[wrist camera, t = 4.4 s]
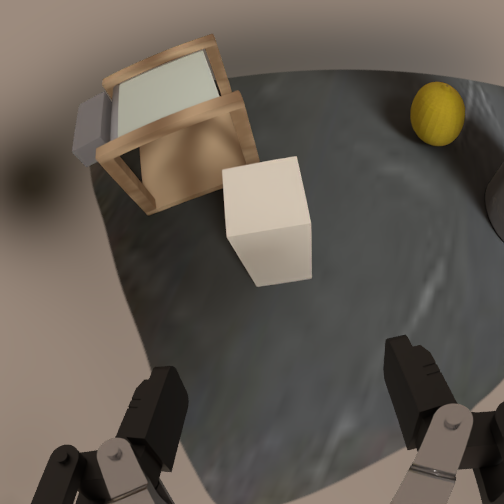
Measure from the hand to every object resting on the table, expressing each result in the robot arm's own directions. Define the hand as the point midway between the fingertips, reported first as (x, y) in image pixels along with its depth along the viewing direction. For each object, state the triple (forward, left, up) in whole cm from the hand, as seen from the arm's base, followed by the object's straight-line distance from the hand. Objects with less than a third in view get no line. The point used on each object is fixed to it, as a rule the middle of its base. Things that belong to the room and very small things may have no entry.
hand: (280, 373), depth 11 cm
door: (+5, -24, -6) cm, 25 cm away
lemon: (-21, -16, -13) cm, 30 cm away
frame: (+3, -24, -13) cm, 27 cm away
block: (-2, -9, -13) cm, 16 cm away
